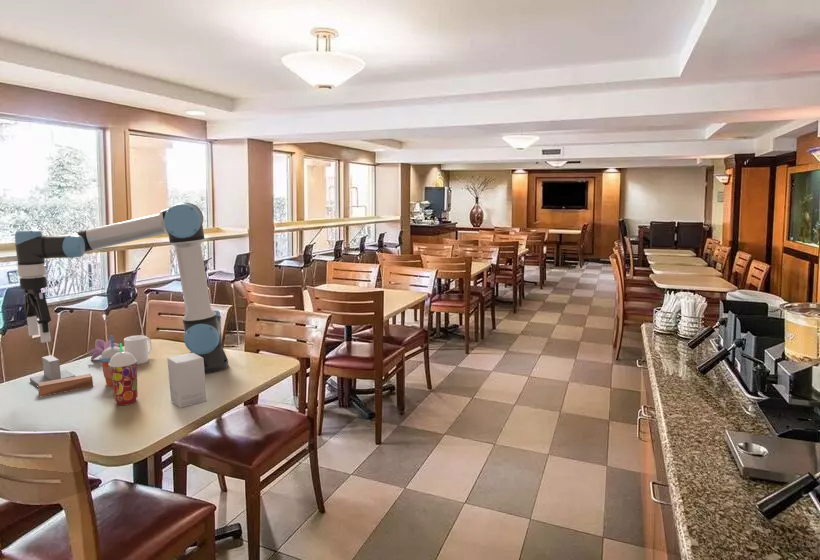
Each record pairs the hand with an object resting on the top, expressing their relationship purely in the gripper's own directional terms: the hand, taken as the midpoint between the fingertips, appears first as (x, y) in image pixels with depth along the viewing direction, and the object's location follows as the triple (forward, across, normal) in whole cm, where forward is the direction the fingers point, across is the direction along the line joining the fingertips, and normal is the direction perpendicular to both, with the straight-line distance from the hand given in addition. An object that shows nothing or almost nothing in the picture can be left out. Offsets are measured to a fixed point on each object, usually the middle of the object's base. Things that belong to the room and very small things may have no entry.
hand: (39, 338), depth 191 cm
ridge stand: (+20, +15, -6) cm, 26 cm away
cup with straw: (+20, -7, -20) cm, 29 cm away
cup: (+20, +15, -38) cm, 46 cm away
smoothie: (+20, -29, -15) cm, 39 cm away
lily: (+20, +28, -29) cm, 45 cm away
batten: (+20, 0, -6) cm, 21 cm away
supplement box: (+20, -44, -29) cm, 57 cm away
